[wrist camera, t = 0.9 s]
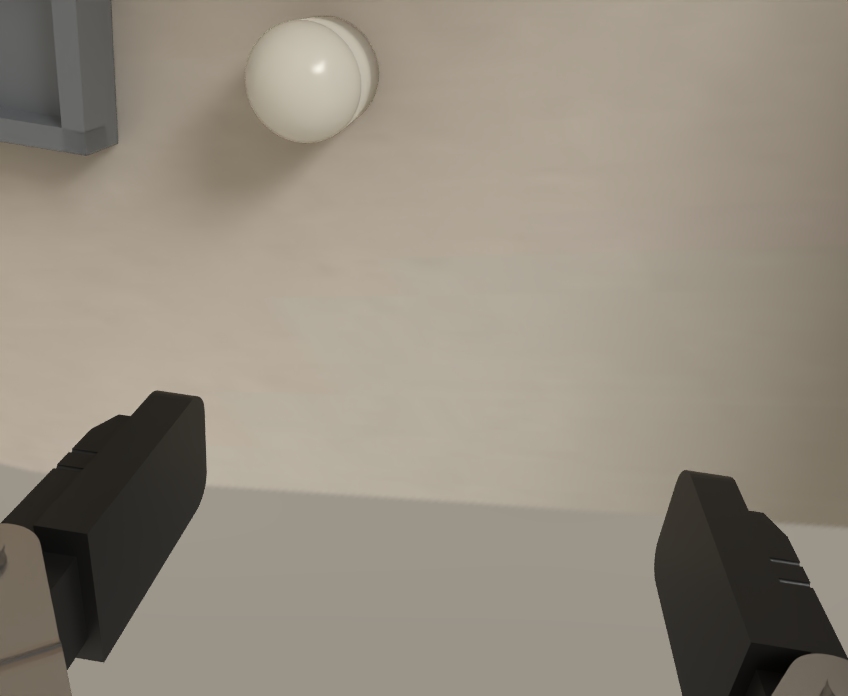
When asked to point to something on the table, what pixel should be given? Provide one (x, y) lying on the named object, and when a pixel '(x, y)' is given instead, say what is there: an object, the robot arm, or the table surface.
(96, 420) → the table surface
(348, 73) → the cream egg
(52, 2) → the egg tray
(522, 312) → the table surface
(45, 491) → the robot arm
